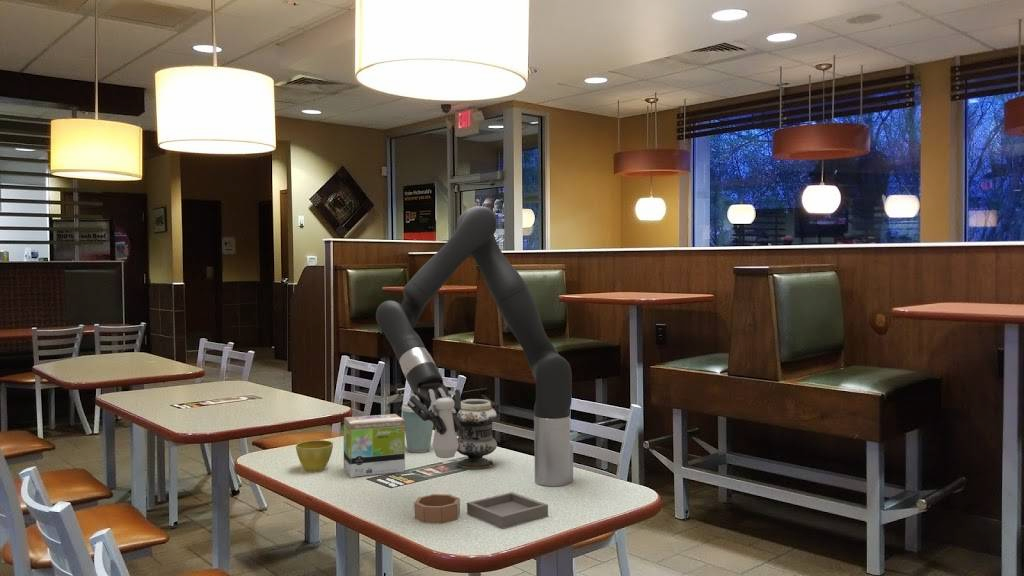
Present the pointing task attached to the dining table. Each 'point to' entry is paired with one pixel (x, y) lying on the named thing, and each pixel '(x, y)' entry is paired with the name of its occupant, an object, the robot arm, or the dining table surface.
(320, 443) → the flower pot
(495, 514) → the tray
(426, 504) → the cup ring
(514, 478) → the dining table surface
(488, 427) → the apothecary jar
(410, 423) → the disposable coffee cup
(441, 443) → the salt shaker
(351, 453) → the tea box
